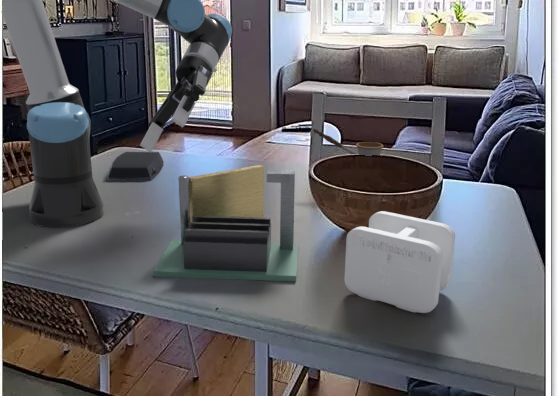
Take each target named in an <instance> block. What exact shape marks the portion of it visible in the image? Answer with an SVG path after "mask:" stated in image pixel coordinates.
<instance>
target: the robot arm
mask: <svg viewBox="0 0 558 396" xmlns="http://www.w3.org/2000/svg"><path fill="white" fill-rule="evenodd" d="M112 1H114V2H116V3H118V4H119V5H123V6H124V7H126V8H129V9H131V10H133V11H136V12H138V13H139V14H142V15H144V16H147V17H149V18H152V19H153V20H156V21H158V22H160V23H161V24H164V25H166V26H167V27H169V28H170V29H171V30H172V31H174V32H175V33H176V34H177V35H179V36H180V37H181V38H183V39H184V41H186V42H187V43H188V44H189V45H188V46H187V49H186V51H185V53H184V54H183V55H182V59H181V60H180V62H179V64H178V65H177V67H176V69H175V78H176V80H177V82H176V83H175V85H174V86H173V89H172V90H170V91H169V92H168V95H166V96H167V97H166V98H165V99H164V101H163V103H162V104H161V106H160V107H159V109H158V110H157V111H156V113H155V114H154V116H153V117H152V118H151V120H150V121H149V122H148V124H147V127H149V128H148V130H147V131H146V133H145V134H144V136H143V138H142V140H141V142H140V144H139V146H140V147H142V148H143V149H144V150H146V152H153V150H154V148H155V146H156V145H157V142H158V141H159V138H160V137H161V136H162V135H161V134H164V133H165V131H164V129H163V128H164V127H165V126H166V125H167V123H168V121H170V119H171V121H172V122H174V123H175V124H176V125H178V126H179V127H181V128H184V127H185V126H186V124H187V121H188V119H189V117H190V116H191V114H192V111H193V110H194V107H195V106H196V102H198V101H199V99H200V96H204V95H205V94H206V88H207V86H208V84H209V83H210V81H211V79H212V76H213V74H214V73H216V72H217V71H218V69H217V68H216V67H217V65H218V64H219V62H220V60H221V57H222V56H223V54H224V53H225V50H226V48H227V47H228V45H229V43H230V40H231V38H232V33H233V28H232V24H231V23H230V21H229V20H228V18H226V17H225V16H224V15H219V14H218V13H209V14H208V15H207V13H206V11H205V5H204V4H203V2H202V1H201V0H112ZM2 16H3V19H4V22H5V25H6V29H7V31H8V34H9V37H10V39H11V42H12V43H11V44H12V45H13V49H14V52H15V54H16V56H17V59H18V62H19V63H18V64H19V65H20V68H21V72H22V74H23V76H24V80H25V82H26V85H27V88H28V92H29V95H28V97H27V99H26V101H25V105H26V108H27V110H28V112H27V114H26V115H27V116H26V117H27V122H26V130H27V131H28V136H29V137H28V139H29V145H30V146H29V147H30V156H31V164H32V165H31V166H32V173H33V181H34V183H33V184H34V185H33V189H32V194H31V197H30V203H29V208H28V214H29V220H30V222H31V223H32V224H34V225H37V226H40V227H41V226H42V227H47V228H48V227H51V228H65V227H74V226H79V225H85V224H88V223H90V222H93V221H96V220H98V219H99V218H101V217H102V216H103V215H104V214H105V210H104V201H103V199H102V197H101V195H100V192H99V190H98V188H97V185H96V183H95V181H94V178H93V171H92V169H93V168H92V167H93V166H92V158H91V146H90V143H91V142H90V135H91V130H92V123H91V118H90V116H89V113H88V112H87V110H86V109H85V106H84V103H83V99H82V97H81V94H80V90H79V88H77V87H75V86H73V85H72V84H70V81H69V79H68V76H67V72H66V69H65V66H64V64H63V61H62V57H61V53H60V51H59V48H58V45H57V42H56V39H55V35H54V33H53V29H52V26H51V23H50V19H49V16H48V14H47V11H46V7H45V5H44V2H43V0H3V14H2Z"/></svg>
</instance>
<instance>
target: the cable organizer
mask: <svg viewBox="0 0 558 396" xmlns="http://www.w3.org/2000/svg"><path fill="white" fill-rule="evenodd" d="M345 241H346V244H345V258H344V259H345V261H344V262H345V263H344V279H343V280H344V284H345V286H346V288H347V289H348V290H349V291H350V292H351V293H354V294H356V295H357V296H359V297H361V298H364V299H366V300H370V301H373V302H377V301H380V302H382V303H386V304H389V305H392V306H395V307H396V308H398V309H401V310H404V311H408V312H411V313H421V314H427V313H430V312H432V311H433V310H434V309H435V308H436V307H437V305H438V304H439V297H440V291H444V290H445V289H446V288H447V287H448V286H449V285H450V283H451V279H452V269H453V264H454V263H453V262H454V253H455V243H456V233H455V231H454V230H453V228H452V227H451V226H449V225H447V224H446V223H443V222H438V221H433V220H428V219H424V218H418V217H415V216H410V215H406V214H405V215H404V214H401V213H400V214H399V213H395V212H389V211H385V210H381V211H377V212H375V213H374V214H372V215H371V216H370V217H369V219H368V227H367V226H361V225H360V226H356V227H354V228H353V229H351V230H350V231H349V232H348V233H347V235H346V239H345Z"/></svg>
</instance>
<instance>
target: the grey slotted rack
mask: <svg viewBox="0 0 558 396" xmlns="http://www.w3.org/2000/svg"><path fill="white" fill-rule="evenodd" d="M295 171H296V170H290V169H275V168H273V169H271V168H268V169H267V172H266V183H272V184H273V183H275V184H276V183H279V184H280V212H279V213H280V216H279V218H280V219H279V223H280V224H279V225H280V227H279V243H280V250H293V244H294V239H295V238H294V236H295V235H294V234H295V233H294V231H295V230H294V229H295V227H294V226H295V189H296V188H295V187H296V186H295V185H296V172H295ZM189 177H190V176H189V175H178V196H179V197H178V199H179V220H180V222H179V223H180V240H181V244H182V245H183V250H184V269H194V270H223V271H253V272H267V268H268V262H269V256H270V251H271V243H272V221H271V220H272V219H271V217H264V218H259V217H225V216H192V222H190V202H189Z"/></svg>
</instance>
